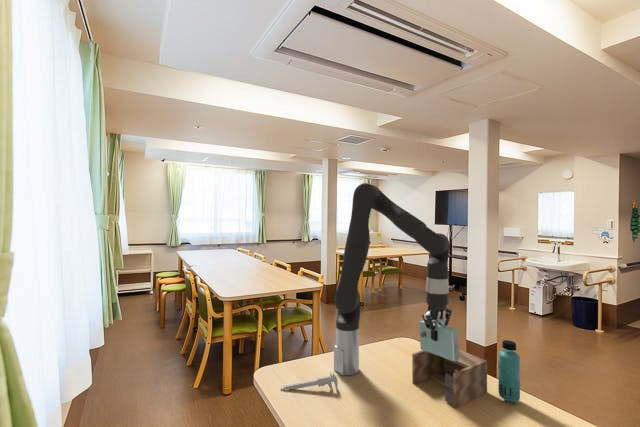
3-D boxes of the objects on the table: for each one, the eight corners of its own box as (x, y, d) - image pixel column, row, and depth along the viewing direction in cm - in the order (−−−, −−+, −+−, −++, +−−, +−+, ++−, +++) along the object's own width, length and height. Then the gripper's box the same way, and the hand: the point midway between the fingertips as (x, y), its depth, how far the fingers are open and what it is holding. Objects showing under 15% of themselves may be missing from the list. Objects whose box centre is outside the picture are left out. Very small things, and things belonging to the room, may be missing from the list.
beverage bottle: (517, 397, 109) (517, 339, 109) (523, 408, 103) (523, 346, 103) (496, 393, 111) (496, 336, 111) (500, 404, 105) (500, 344, 105)
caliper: (337, 389, 115) (337, 372, 115) (337, 391, 114) (337, 373, 114) (280, 389, 115) (280, 372, 115) (280, 391, 114) (280, 373, 114)
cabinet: (455, 408, 103) (455, 374, 103) (412, 383, 118) (412, 353, 118) (487, 392, 113) (487, 360, 113) (443, 370, 128) (443, 343, 128)
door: (452, 362, 105) (450, 331, 105) (418, 349, 116) (417, 322, 117) (459, 359, 107) (457, 329, 107) (425, 347, 118) (423, 320, 119)
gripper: (440, 285, 119) (440, 332, 119) (415, 290, 112) (415, 340, 112) (459, 290, 113) (458, 338, 113) (433, 295, 105) (433, 347, 106)
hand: (437, 339), depth 112 cm, fingers closed on door, 2 cm apart
